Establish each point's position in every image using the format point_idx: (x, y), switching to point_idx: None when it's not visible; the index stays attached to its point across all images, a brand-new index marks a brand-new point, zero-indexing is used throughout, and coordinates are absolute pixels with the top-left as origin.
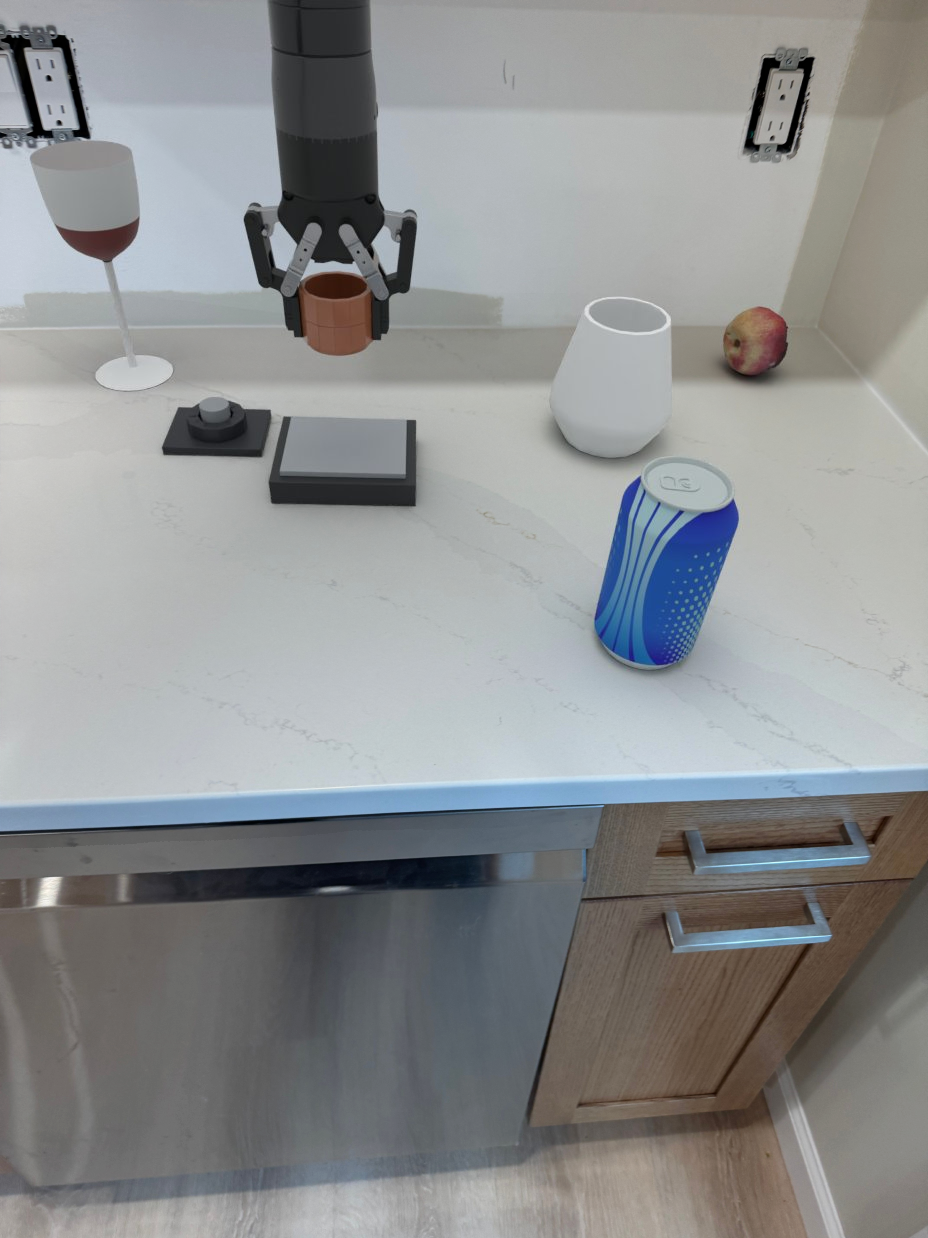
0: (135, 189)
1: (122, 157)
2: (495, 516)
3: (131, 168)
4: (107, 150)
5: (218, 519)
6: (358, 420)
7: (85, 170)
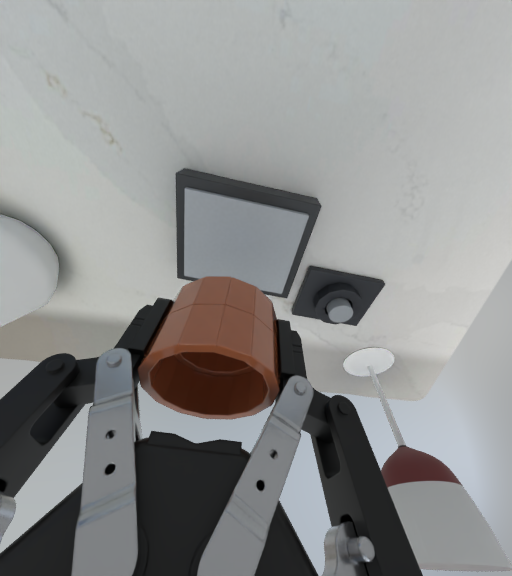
0: None
1: None
2: (100, 133)
3: None
4: None
5: (370, 181)
6: None
7: (472, 563)
